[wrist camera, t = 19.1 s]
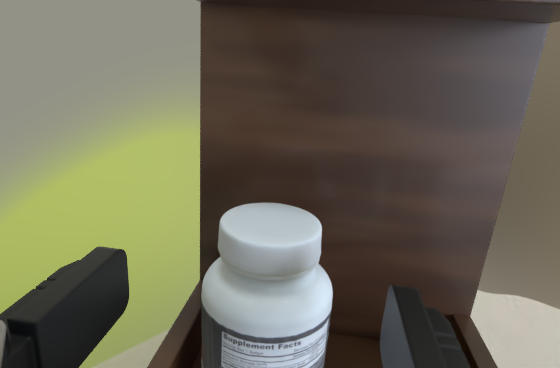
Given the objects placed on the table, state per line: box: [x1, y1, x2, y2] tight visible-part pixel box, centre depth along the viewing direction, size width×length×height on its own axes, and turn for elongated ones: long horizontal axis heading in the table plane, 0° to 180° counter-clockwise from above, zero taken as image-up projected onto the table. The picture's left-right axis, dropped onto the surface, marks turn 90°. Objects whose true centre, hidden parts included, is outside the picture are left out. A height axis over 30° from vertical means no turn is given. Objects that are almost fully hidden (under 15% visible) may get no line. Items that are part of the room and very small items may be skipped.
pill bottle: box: [201, 203, 333, 368], centre depth 16 cm, size 5×5×10 cm
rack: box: [147, 0, 560, 368], centre depth 17 cm, size 12×16×30 cm
